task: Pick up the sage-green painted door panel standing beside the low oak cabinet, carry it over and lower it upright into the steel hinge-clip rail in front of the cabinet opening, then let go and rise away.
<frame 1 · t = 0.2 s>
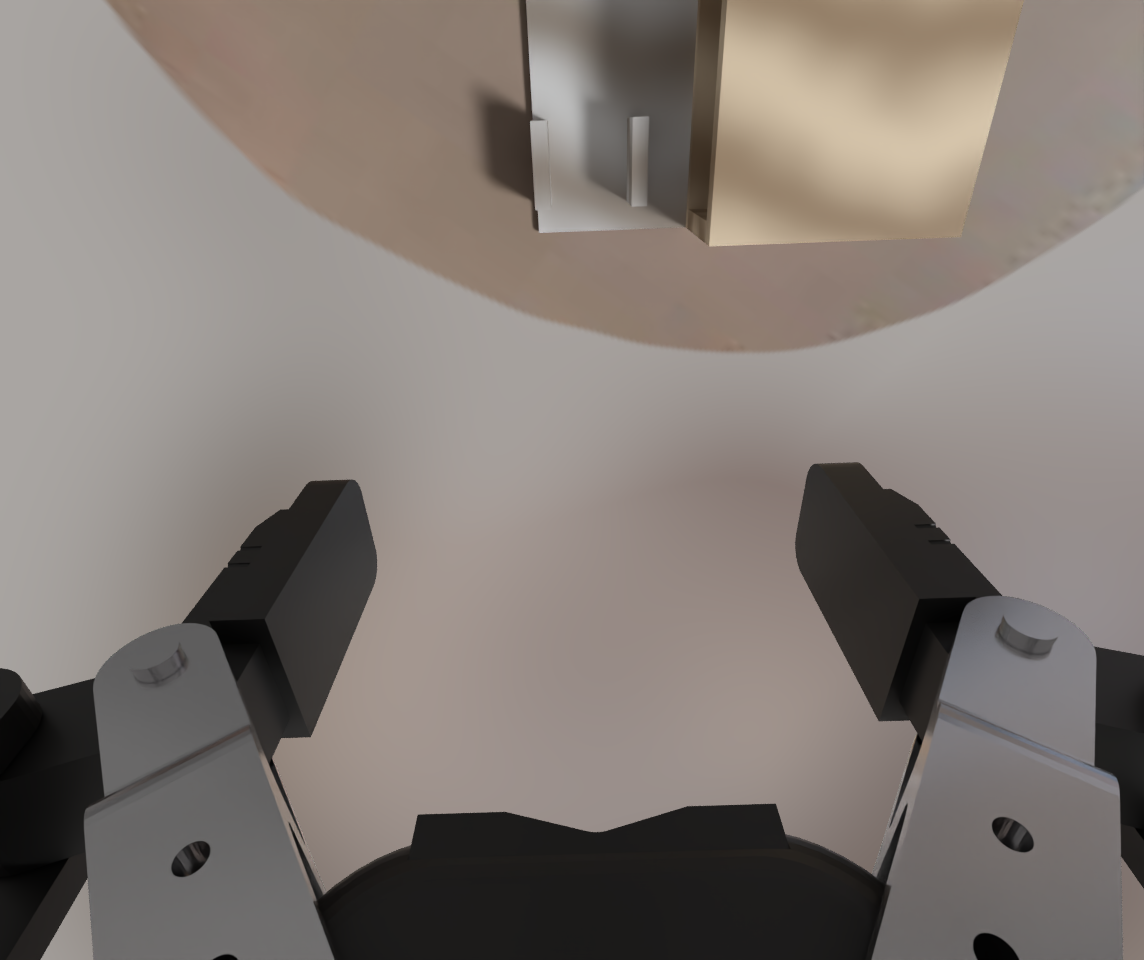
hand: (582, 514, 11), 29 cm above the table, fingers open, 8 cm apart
cabinet: (813, 30, 31), on the table
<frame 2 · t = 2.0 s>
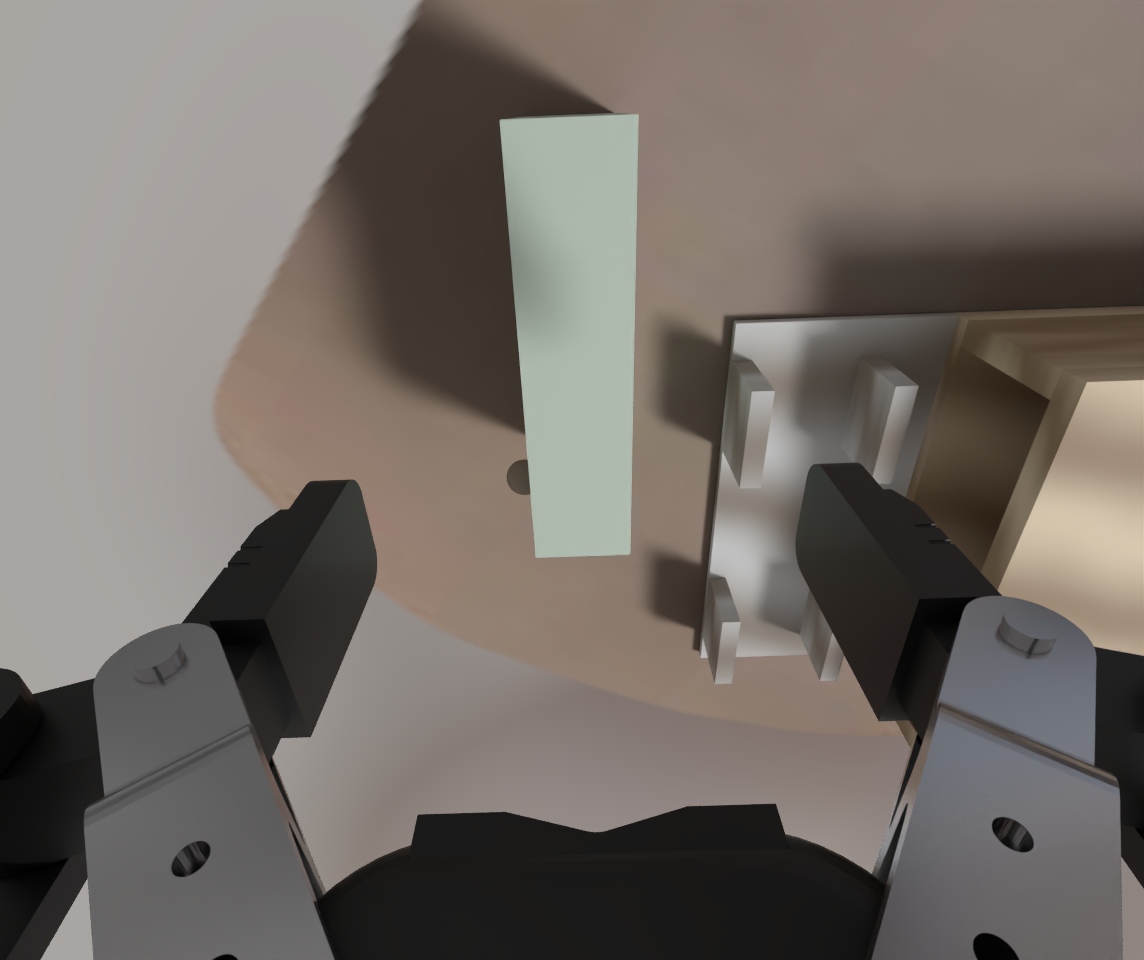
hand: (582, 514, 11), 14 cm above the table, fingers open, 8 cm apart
cabinet: (1028, 503, 28), on the table
door: (574, 299, 23), on the table
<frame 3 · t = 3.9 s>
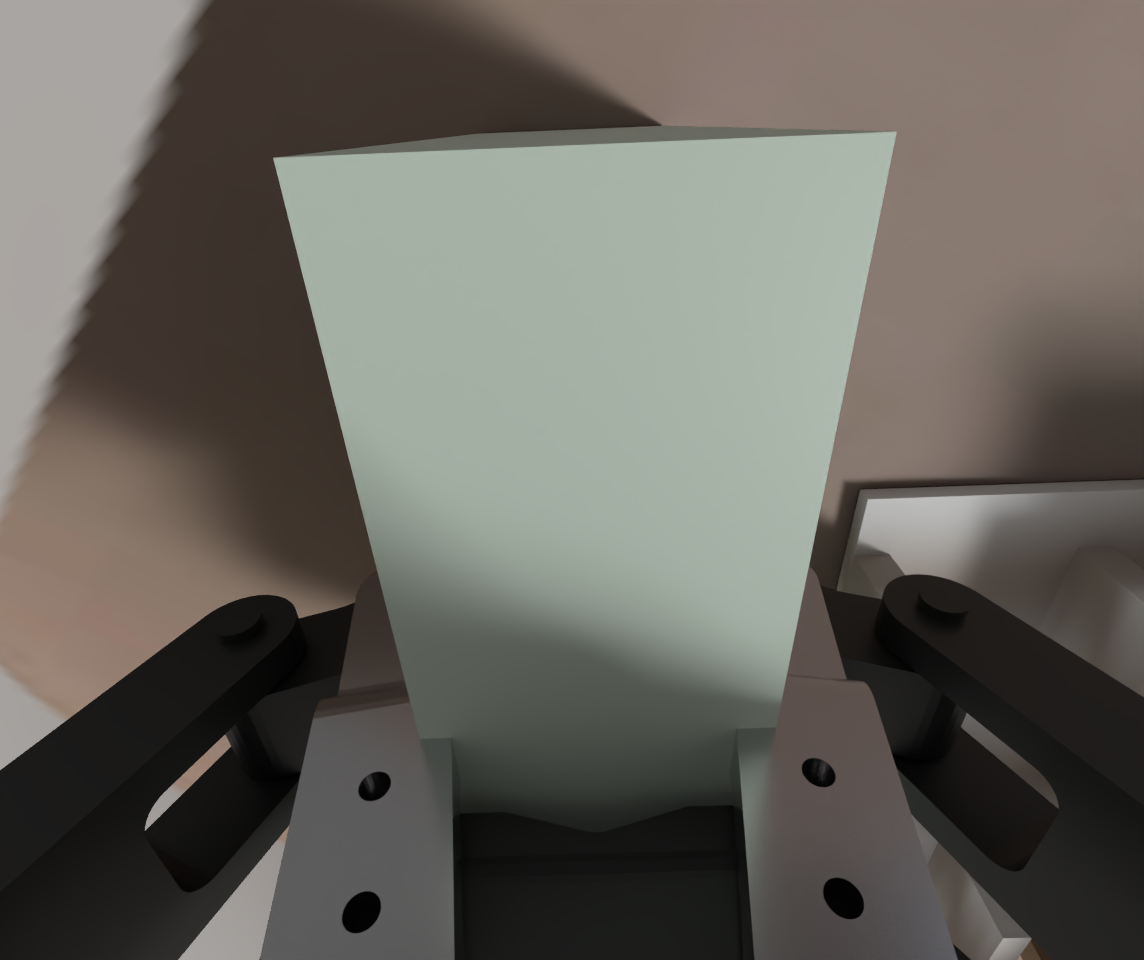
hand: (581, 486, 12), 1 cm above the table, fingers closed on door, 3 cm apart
door: (581, 457, 13), on the table, touching gripper
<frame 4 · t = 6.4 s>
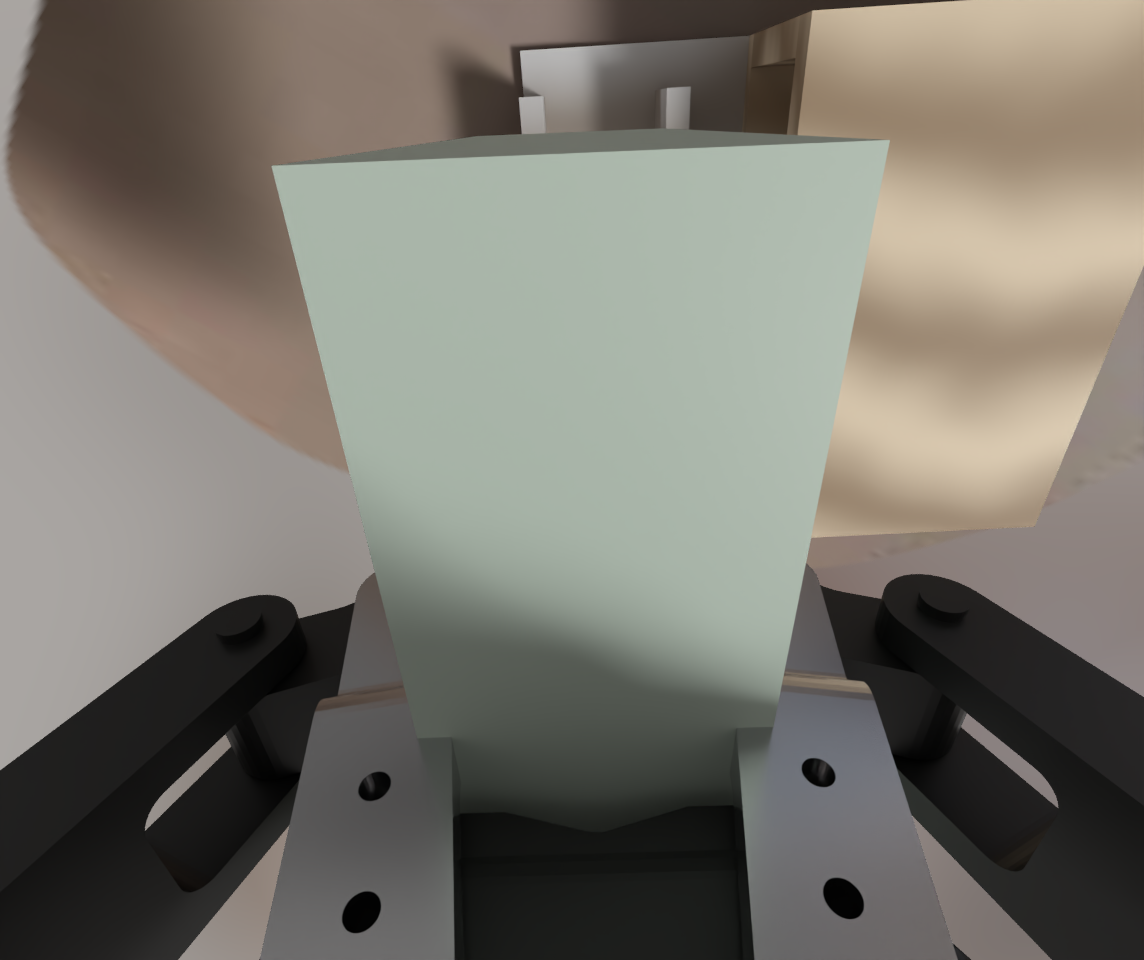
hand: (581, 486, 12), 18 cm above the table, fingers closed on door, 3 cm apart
cabinet: (863, 276, 27), on the table
door: (580, 458, 13), point 16 cm above the table, touching gripper
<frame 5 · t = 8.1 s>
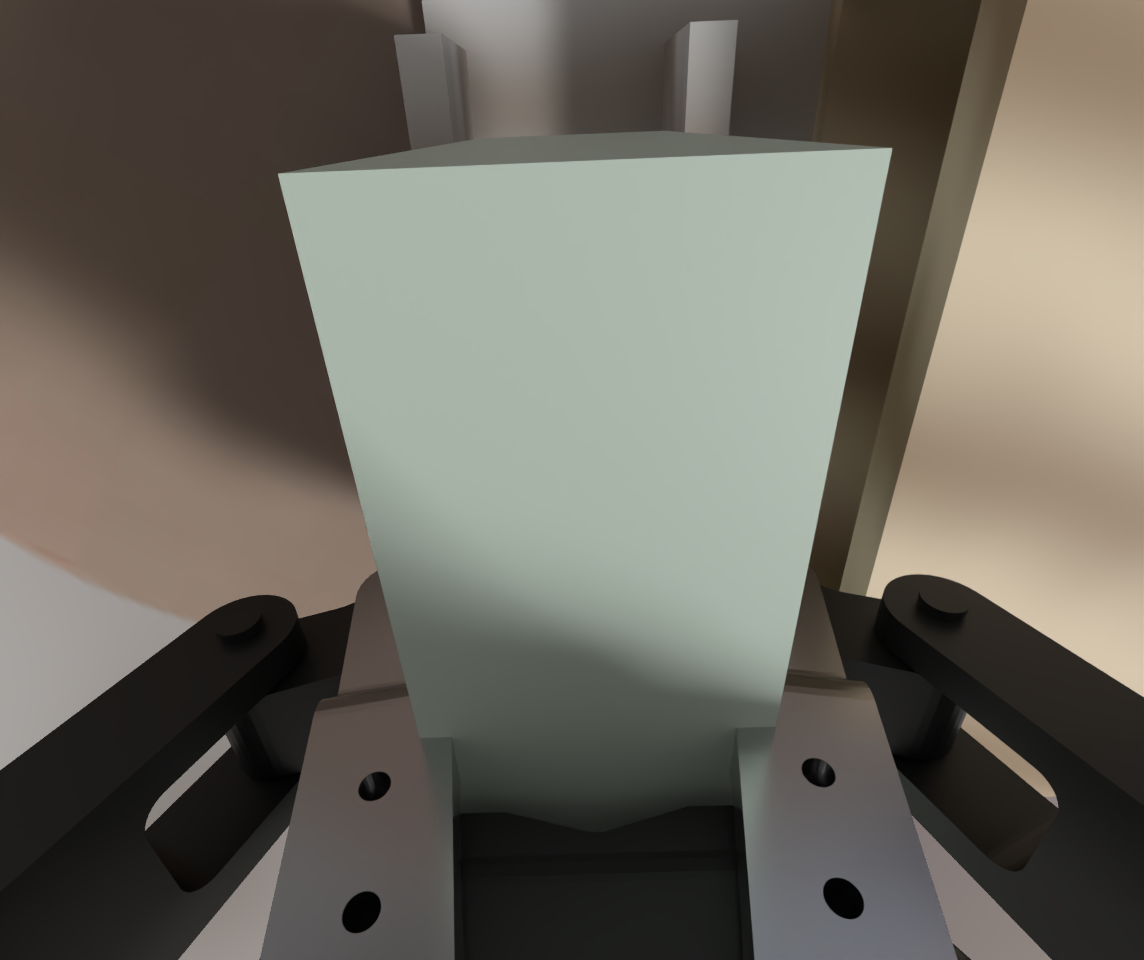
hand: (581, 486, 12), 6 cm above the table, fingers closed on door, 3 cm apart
cabinet: (991, 360, 17), on the table
door: (581, 459, 13), point 5 cm above the table, touching gripper
when the fingers open (3 cm above the table, at t = 9.2 s): door stays where it is, resting on cabinet.
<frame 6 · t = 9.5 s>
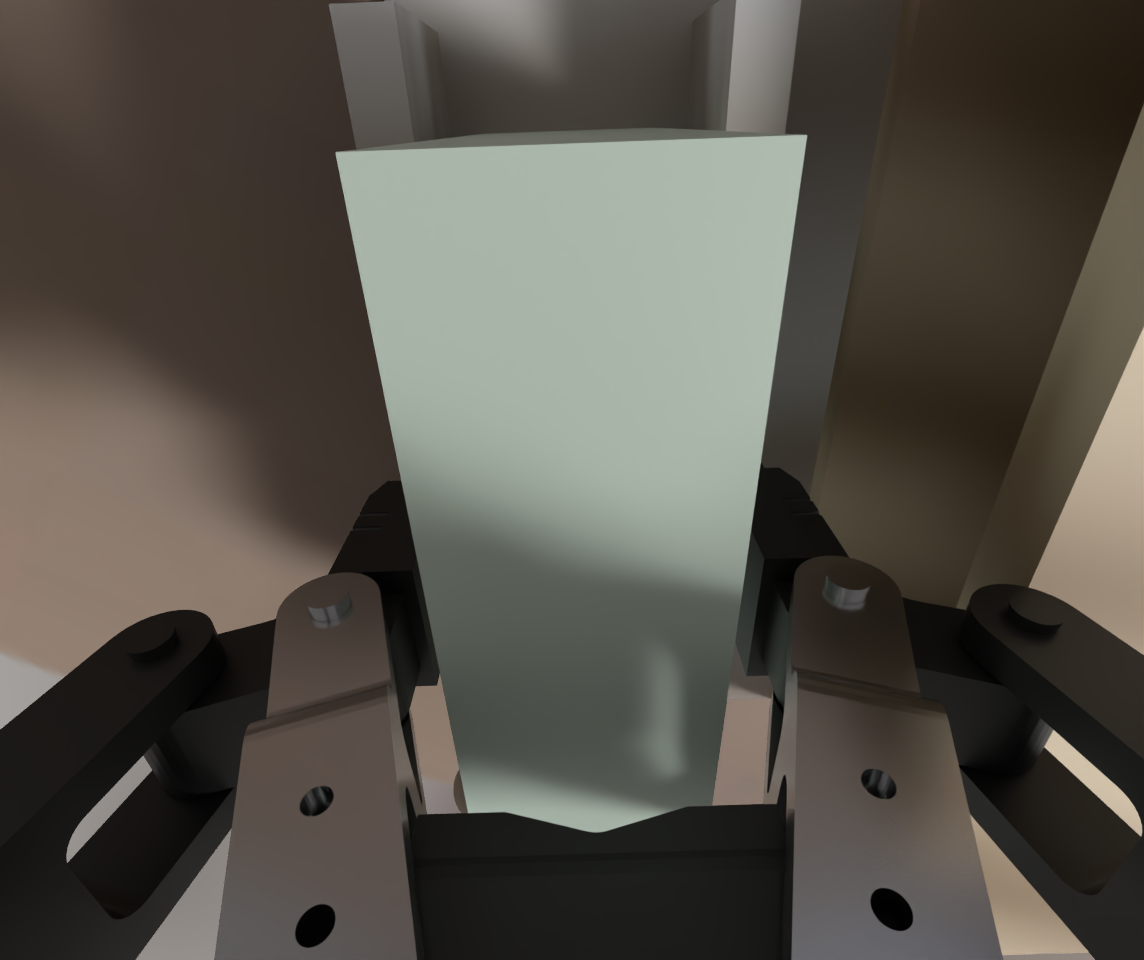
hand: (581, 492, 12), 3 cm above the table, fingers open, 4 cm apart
cabinet: (1077, 410, 14), on the table
door: (576, 435, 14), resting on cabinet
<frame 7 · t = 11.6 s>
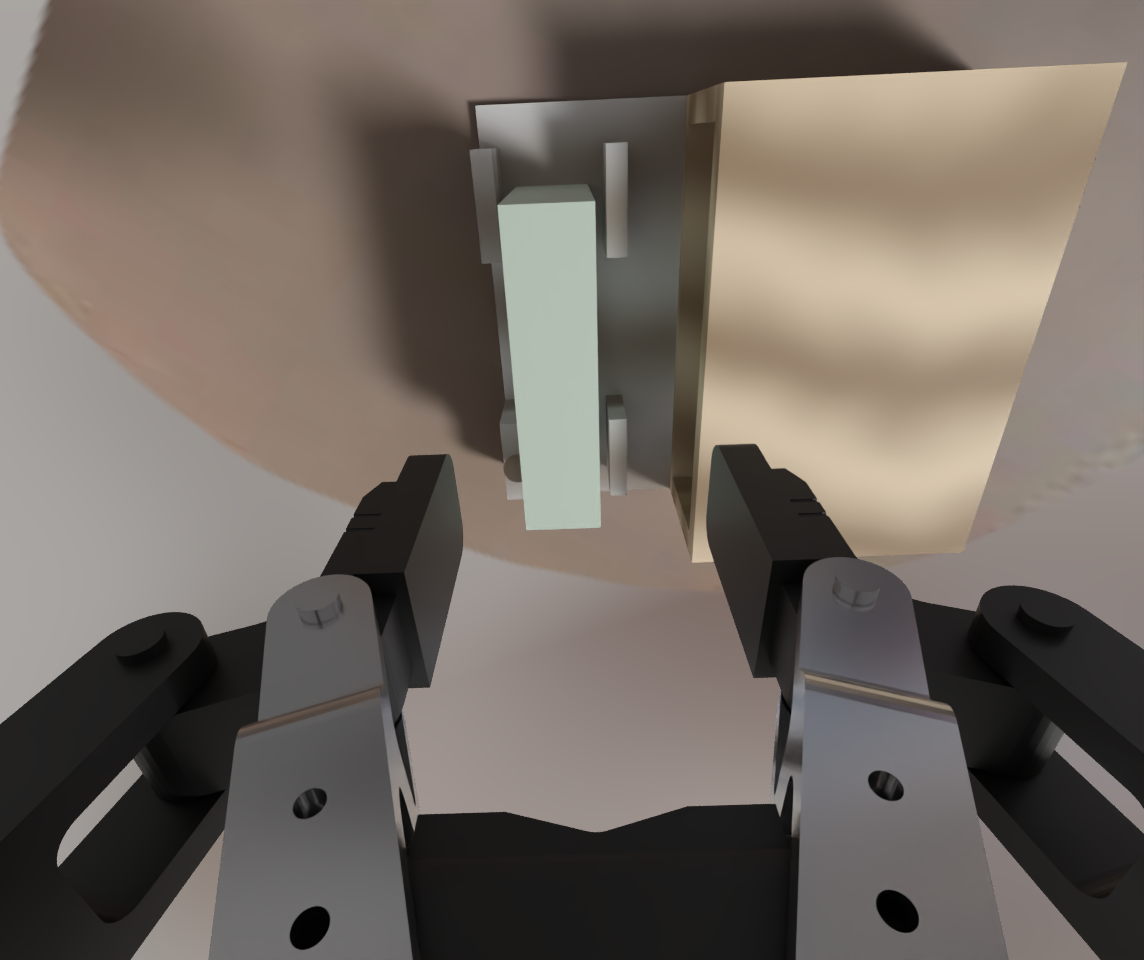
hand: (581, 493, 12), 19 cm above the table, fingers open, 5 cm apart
cabinet: (802, 314, 29), on the table
door: (558, 326, 29), resting on cabinet
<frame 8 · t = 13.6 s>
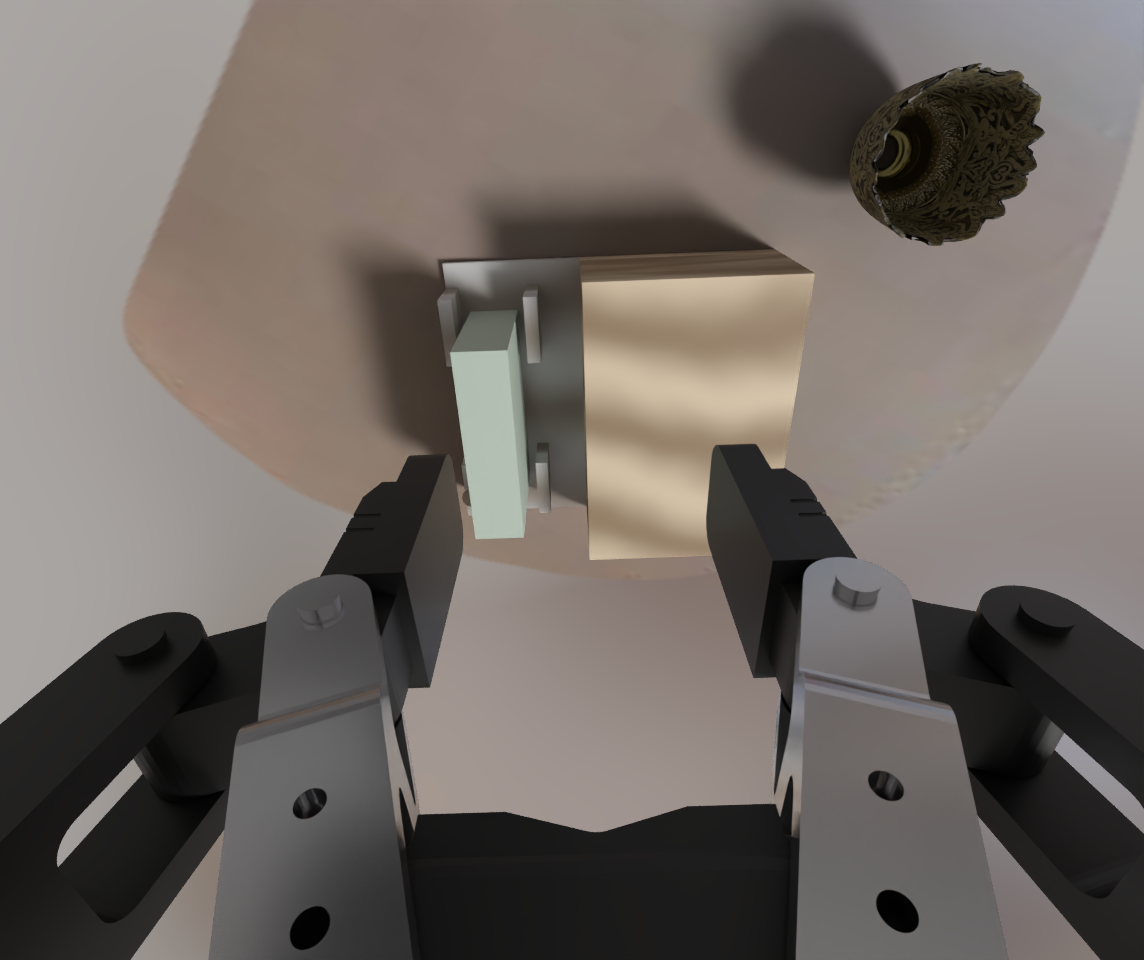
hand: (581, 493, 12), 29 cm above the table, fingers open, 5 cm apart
cabinet: (670, 390, 42), on the table
cup: (881, 152, 35), on the table
door: (502, 398, 42), resting on cabinet
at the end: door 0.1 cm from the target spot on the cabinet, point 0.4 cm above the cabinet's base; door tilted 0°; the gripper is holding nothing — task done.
